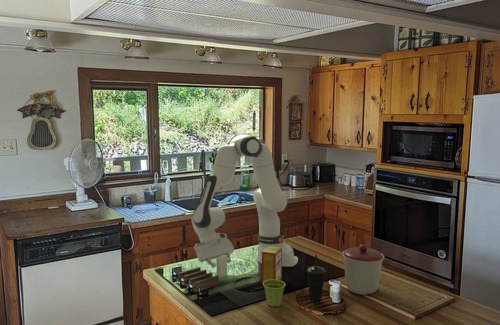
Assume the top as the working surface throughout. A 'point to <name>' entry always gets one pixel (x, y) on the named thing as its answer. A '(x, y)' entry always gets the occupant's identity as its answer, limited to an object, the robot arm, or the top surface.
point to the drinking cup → (315, 281)
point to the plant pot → (274, 292)
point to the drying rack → (198, 278)
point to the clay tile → (221, 265)
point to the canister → (362, 269)
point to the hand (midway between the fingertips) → (222, 264)
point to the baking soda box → (272, 263)
